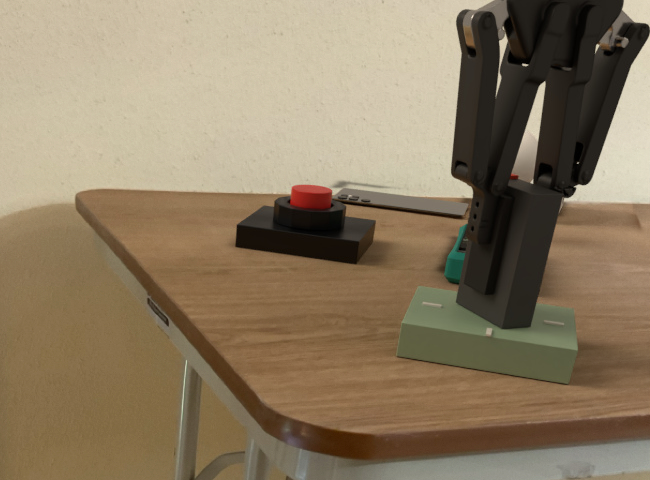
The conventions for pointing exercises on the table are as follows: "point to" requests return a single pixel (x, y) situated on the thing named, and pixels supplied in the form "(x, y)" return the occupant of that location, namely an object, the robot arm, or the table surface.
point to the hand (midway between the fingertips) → (497, 287)
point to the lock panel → (488, 338)
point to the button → (311, 196)
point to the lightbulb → (526, 158)
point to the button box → (306, 232)
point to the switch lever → (517, 258)
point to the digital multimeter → (456, 257)
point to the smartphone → (401, 202)
